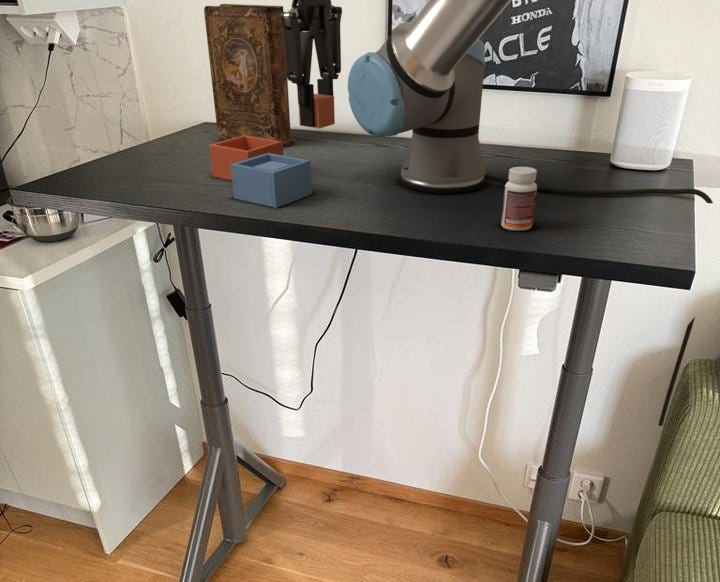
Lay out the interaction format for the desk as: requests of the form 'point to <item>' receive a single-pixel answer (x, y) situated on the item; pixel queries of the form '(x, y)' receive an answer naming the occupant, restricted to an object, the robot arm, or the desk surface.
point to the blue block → (272, 166)
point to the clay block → (323, 111)
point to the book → (248, 71)
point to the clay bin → (240, 152)
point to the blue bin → (271, 180)
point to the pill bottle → (519, 199)
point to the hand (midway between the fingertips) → (317, 122)
